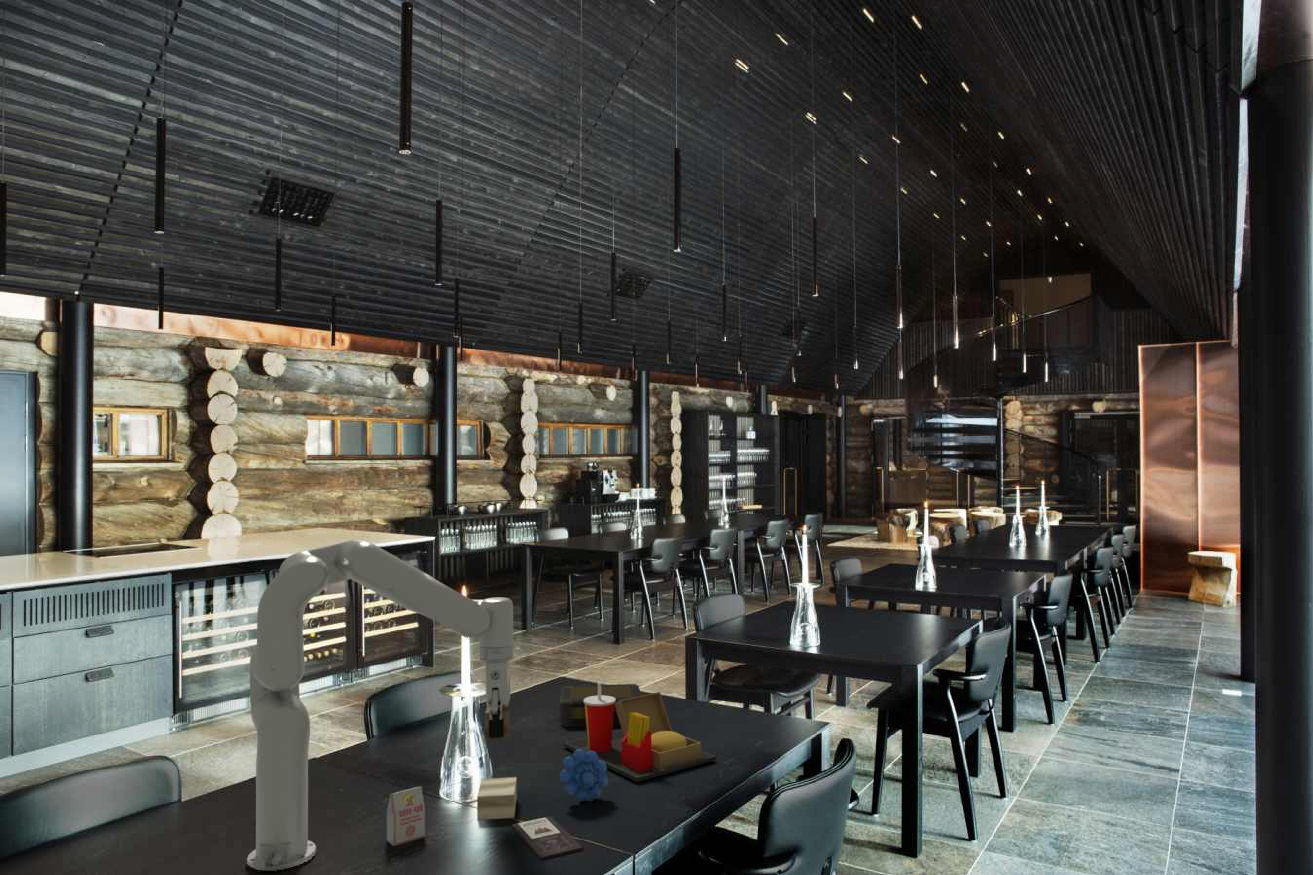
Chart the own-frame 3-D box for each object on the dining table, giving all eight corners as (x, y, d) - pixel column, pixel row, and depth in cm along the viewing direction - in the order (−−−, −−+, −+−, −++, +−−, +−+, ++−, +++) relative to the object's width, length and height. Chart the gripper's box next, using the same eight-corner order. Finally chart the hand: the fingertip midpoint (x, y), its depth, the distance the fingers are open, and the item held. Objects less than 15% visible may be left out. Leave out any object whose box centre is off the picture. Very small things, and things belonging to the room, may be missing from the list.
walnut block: (507, 738, 192) (507, 711, 192) (485, 739, 191) (485, 712, 192) (509, 732, 197) (509, 705, 197) (487, 733, 196) (487, 706, 196)
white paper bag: (386, 840, 178) (386, 791, 178) (417, 831, 182) (417, 783, 182) (393, 846, 175) (393, 796, 175) (424, 836, 179) (424, 788, 179)
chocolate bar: (540, 857, 168) (511, 824, 184) (540, 862, 168) (511, 828, 184) (583, 847, 172) (551, 815, 188) (583, 852, 172) (551, 820, 188)
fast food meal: (636, 786, 208) (636, 709, 208) (563, 749, 236) (562, 682, 236) (716, 763, 223) (715, 692, 224) (638, 732, 251) (637, 668, 252)
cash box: (638, 706, 278) (638, 682, 278) (643, 724, 257) (642, 698, 258) (561, 709, 275) (561, 685, 276) (559, 728, 255) (559, 701, 255)
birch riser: (514, 817, 188) (514, 794, 189) (477, 819, 188) (477, 796, 188) (516, 798, 199) (516, 776, 200) (481, 800, 198) (481, 778, 199)
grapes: (566, 811, 191) (565, 757, 192) (557, 801, 197) (556, 748, 198) (614, 803, 196) (614, 750, 196) (604, 793, 202) (604, 741, 203)
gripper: (511, 660, 187) (511, 744, 186) (515, 644, 204) (515, 721, 203) (476, 661, 186) (476, 746, 185) (483, 645, 203) (483, 723, 202)
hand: (497, 732), depth 194 cm, fingers closed on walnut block, 5 cm apart
